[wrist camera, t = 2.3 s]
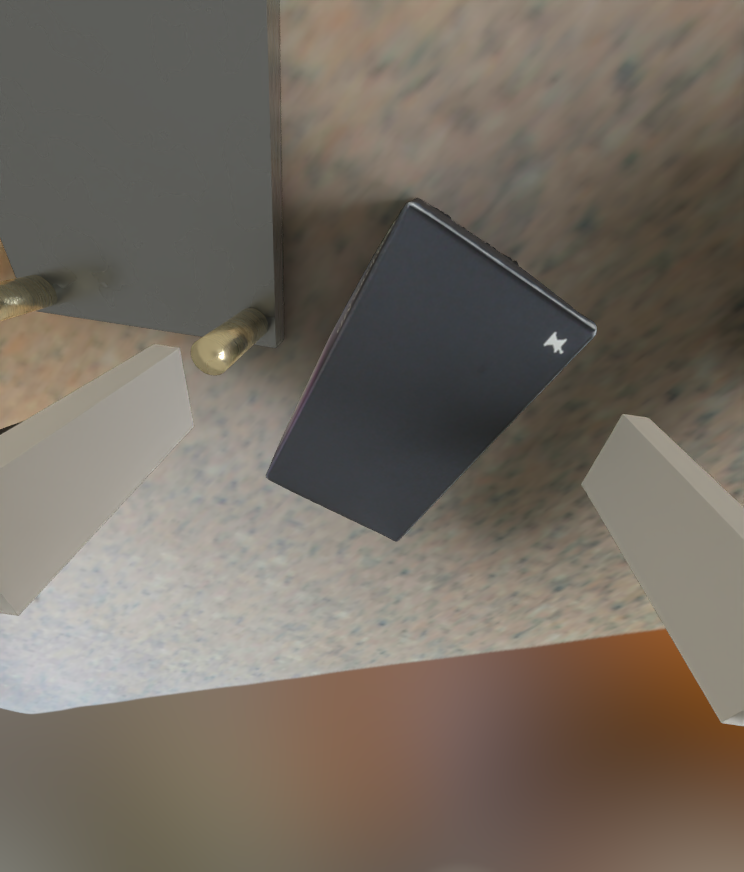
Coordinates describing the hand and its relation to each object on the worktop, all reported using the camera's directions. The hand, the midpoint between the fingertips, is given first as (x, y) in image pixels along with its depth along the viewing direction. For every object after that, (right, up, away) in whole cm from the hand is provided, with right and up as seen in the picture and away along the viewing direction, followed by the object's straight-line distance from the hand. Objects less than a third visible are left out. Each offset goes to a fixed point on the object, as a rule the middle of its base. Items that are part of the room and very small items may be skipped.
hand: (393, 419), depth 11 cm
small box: (+1, +6, +9) cm, 11 cm away
